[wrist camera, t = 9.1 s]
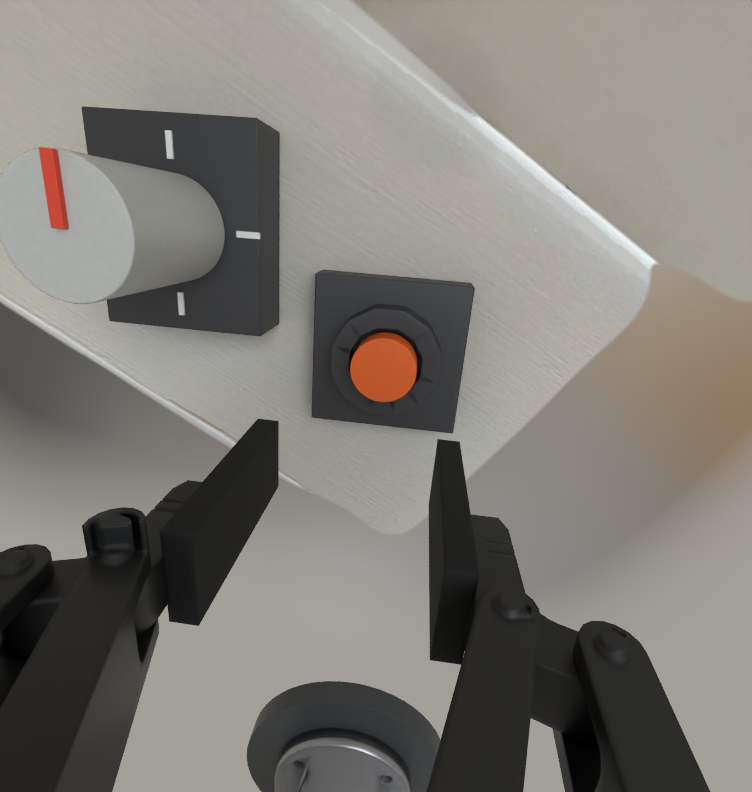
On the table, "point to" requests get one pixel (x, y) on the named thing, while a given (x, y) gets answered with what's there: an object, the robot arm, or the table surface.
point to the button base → (400, 314)
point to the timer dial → (104, 225)
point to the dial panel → (238, 204)
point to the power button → (384, 367)
